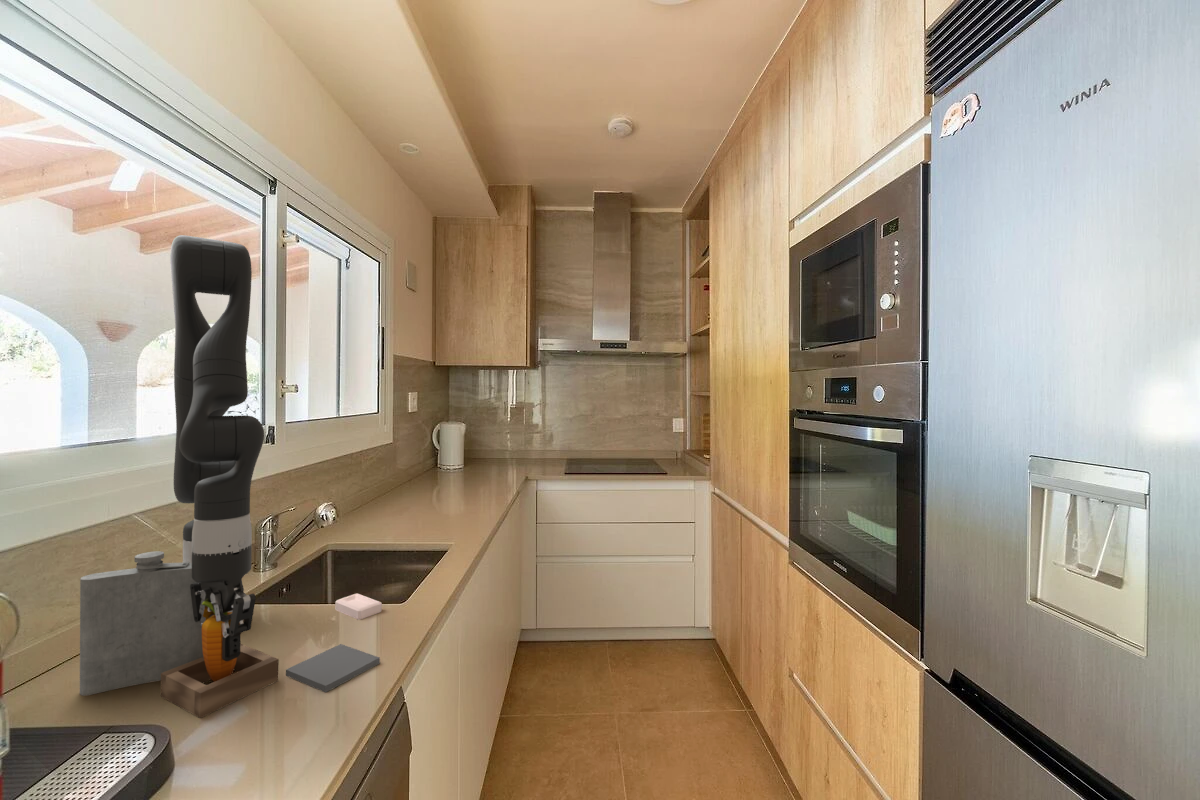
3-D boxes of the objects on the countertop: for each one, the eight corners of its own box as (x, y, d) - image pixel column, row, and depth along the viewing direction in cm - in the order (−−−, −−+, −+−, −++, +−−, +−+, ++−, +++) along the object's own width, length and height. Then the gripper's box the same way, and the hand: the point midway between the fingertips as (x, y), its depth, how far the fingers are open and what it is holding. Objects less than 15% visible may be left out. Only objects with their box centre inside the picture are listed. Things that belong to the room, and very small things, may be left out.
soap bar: (359, 621, 107) (359, 609, 107) (334, 611, 112) (334, 599, 112) (382, 612, 111) (382, 601, 111) (357, 602, 116) (357, 591, 116)
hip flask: (75, 697, 78) (76, 564, 78) (87, 684, 82) (87, 556, 82) (206, 673, 86) (207, 551, 85) (211, 662, 89) (212, 544, 89)
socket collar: (160, 696, 79) (160, 673, 79) (238, 663, 89) (239, 643, 89) (200, 717, 74) (200, 693, 74) (278, 680, 84) (278, 658, 84)
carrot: (220, 699, 78) (220, 599, 78) (192, 695, 79) (193, 596, 79) (248, 681, 83) (249, 587, 83) (222, 678, 84) (223, 584, 84)
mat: (285, 675, 85) (285, 669, 85) (340, 649, 94) (340, 643, 94) (325, 692, 81) (325, 685, 81) (379, 663, 90) (379, 657, 90)
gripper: (169, 544, 81) (169, 653, 81) (221, 558, 75) (220, 678, 75) (223, 533, 88) (222, 634, 88) (274, 545, 81) (273, 655, 81)
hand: (221, 653), depth 81 cm, fingers closed on carrot, 4 cm apart
